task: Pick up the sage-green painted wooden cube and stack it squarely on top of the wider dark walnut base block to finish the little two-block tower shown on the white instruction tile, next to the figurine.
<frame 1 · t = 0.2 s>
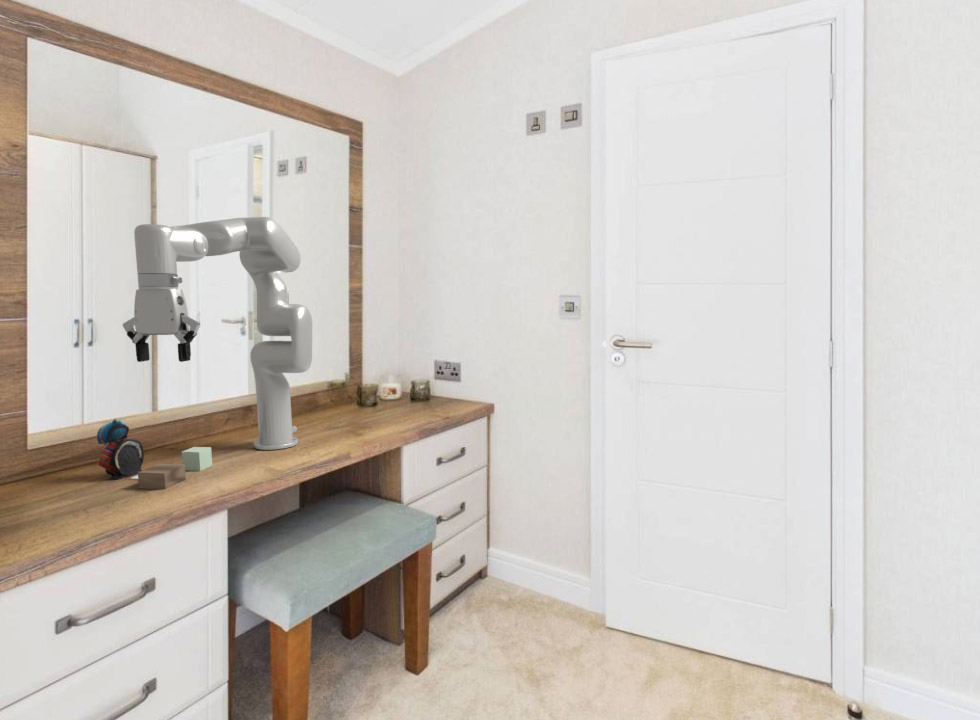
hand: (164, 361, 126), 31 cm above the table, fingers open, 9 cm apart
figurine: (121, 475, 146), on the table
instruction tile: (151, 474, 145), on the table
walnut base: (163, 484, 138), on the table
sage cube: (197, 468, 151), on the table
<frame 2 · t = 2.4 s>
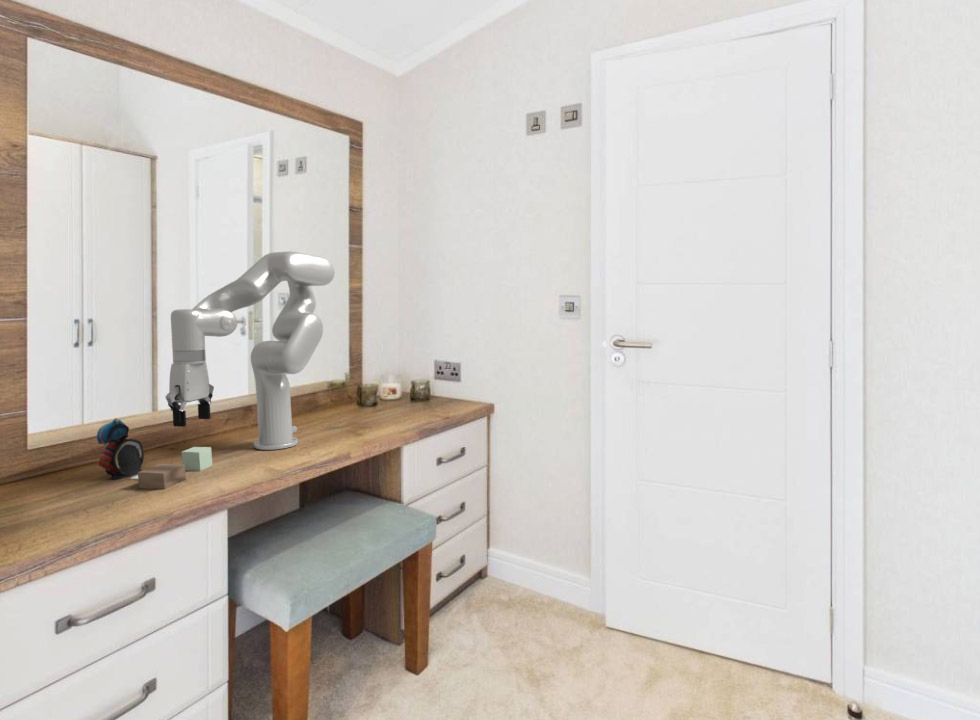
hand: (192, 422, 149), 12 cm above the table, fingers open, 9 cm apart
nothing on the table moved.
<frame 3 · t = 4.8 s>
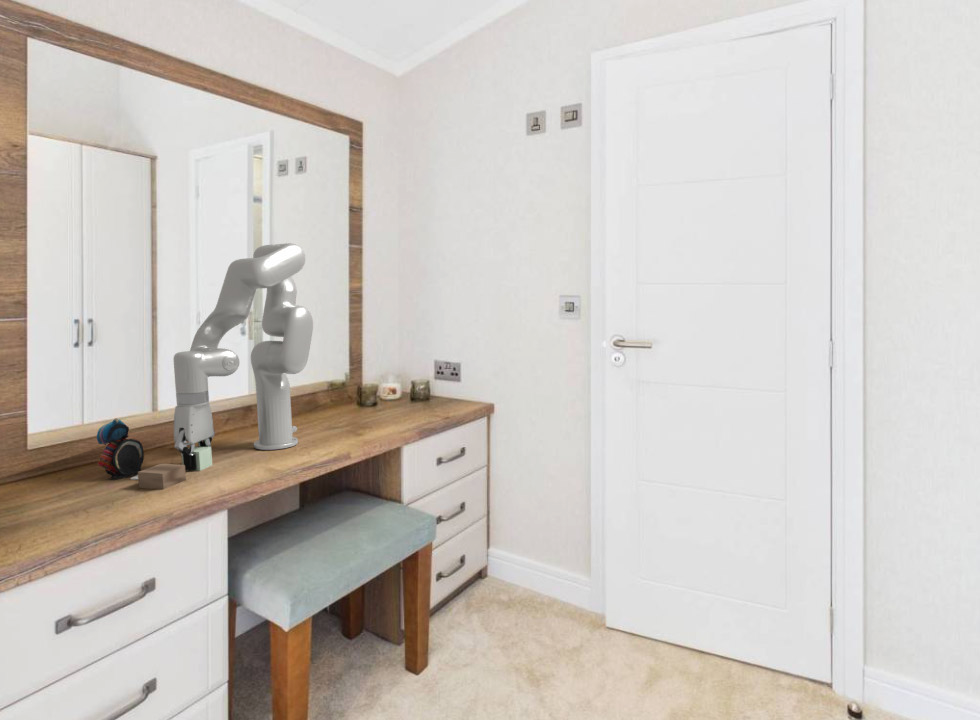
hand: (197, 465, 151), 0 cm above the table, fingers closed on sage cube, 5 cm apart
sage cube: (197, 467, 151), on the table, touching gripper
everything else where it was.
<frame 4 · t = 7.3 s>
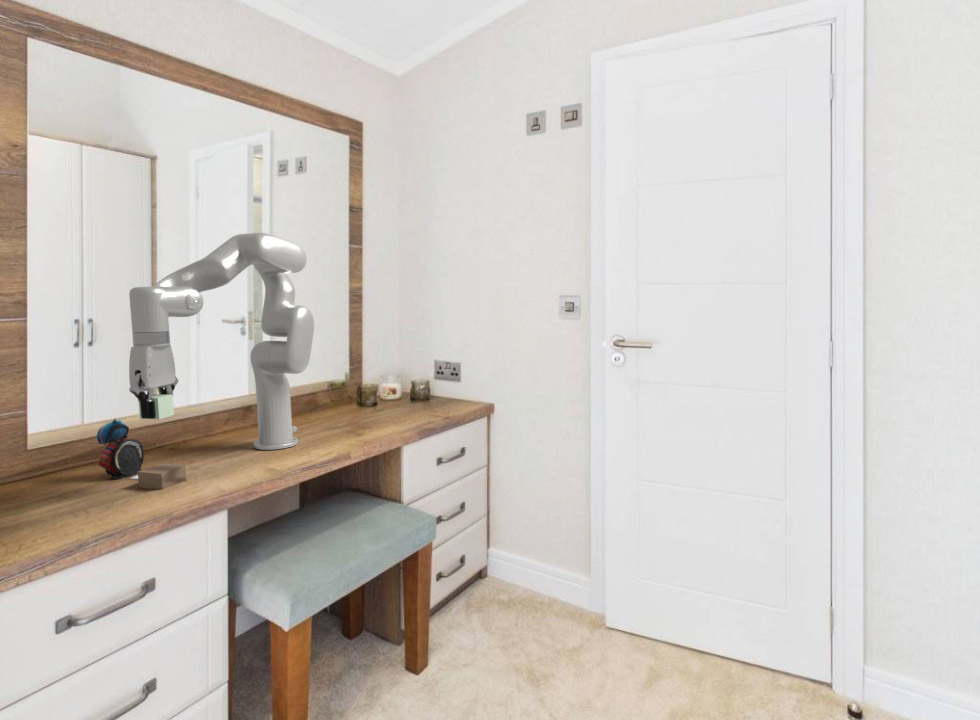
hand: (157, 414, 136), 17 cm above the table, fingers closed on sage cube, 5 cm apart
sage cube: (157, 416, 137), point 16 cm above the table, touching gripper
everything else where it was.
when the fingers open (5 cm above the table, at t = 10.2 s): sage cube stays where it is, point 4 cm above the table.
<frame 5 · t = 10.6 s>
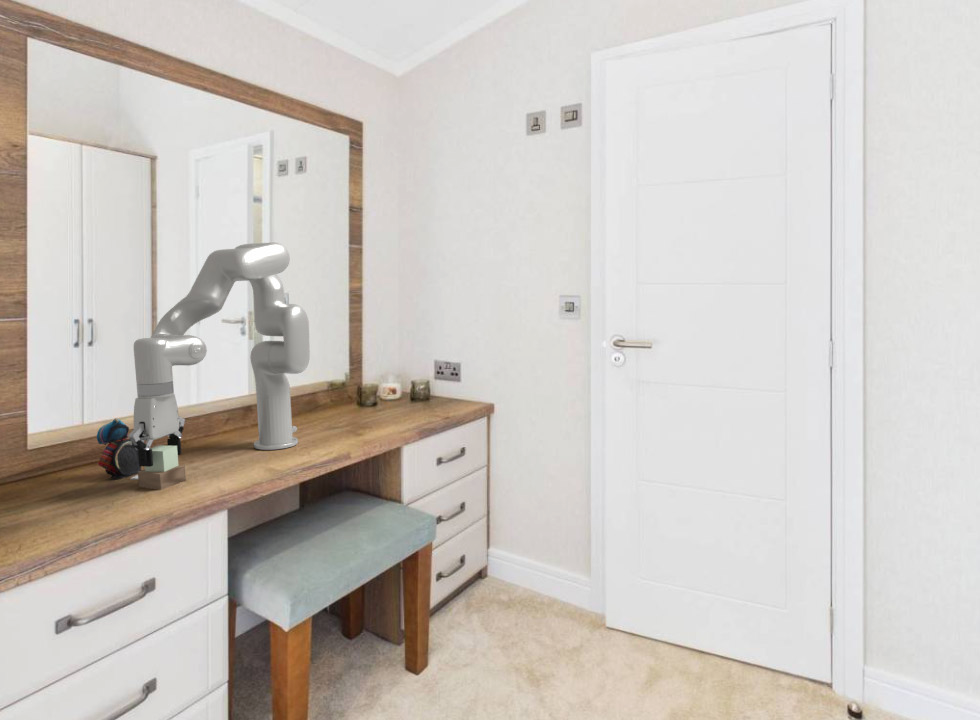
hand: (161, 460, 138), 6 cm above the table, fingers open, 9 cm apart
sage cube: (162, 468, 138), point 4 cm above the table
everything else where it was.
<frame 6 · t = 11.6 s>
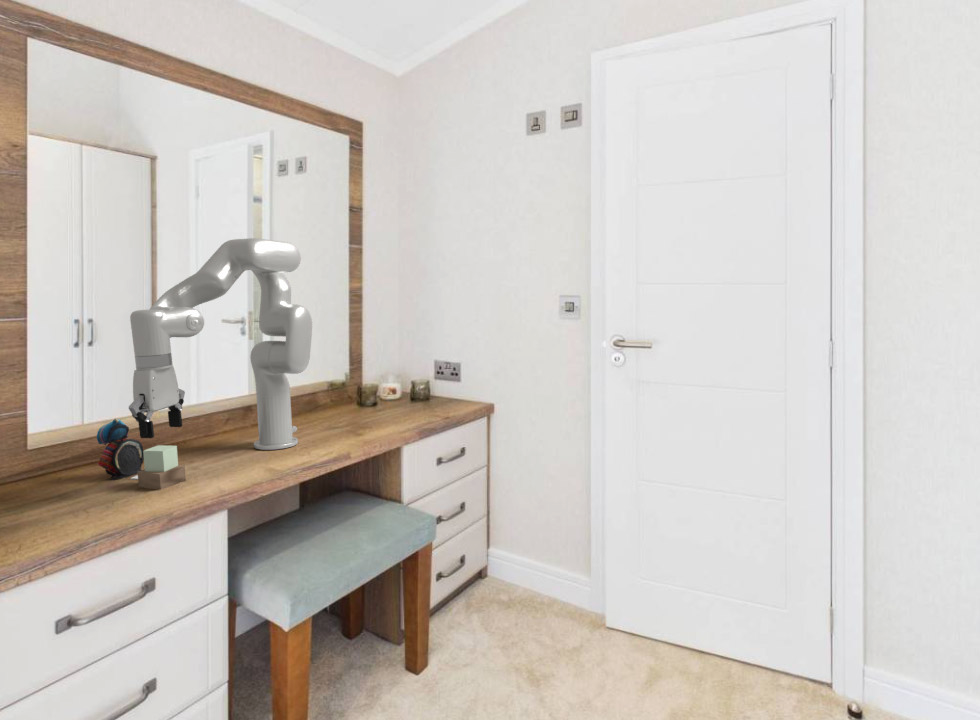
hand: (162, 432, 138), 12 cm above the table, fingers open, 9 cm apart
nothing on the table moved.
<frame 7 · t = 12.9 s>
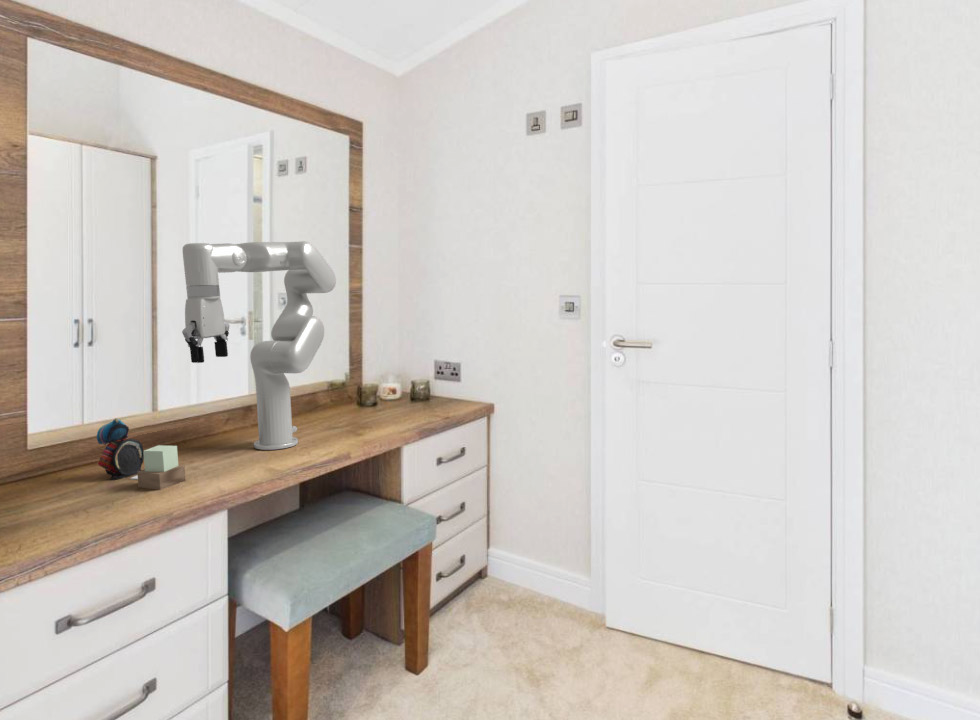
hand: (210, 359, 148), 29 cm above the table, fingers open, 9 cm apart
walnut base: (162, 484, 138), on the table, touching sage cube
sage cube: (162, 468, 138), point 4 cm above the table, touching walnut base
everything else where it was.
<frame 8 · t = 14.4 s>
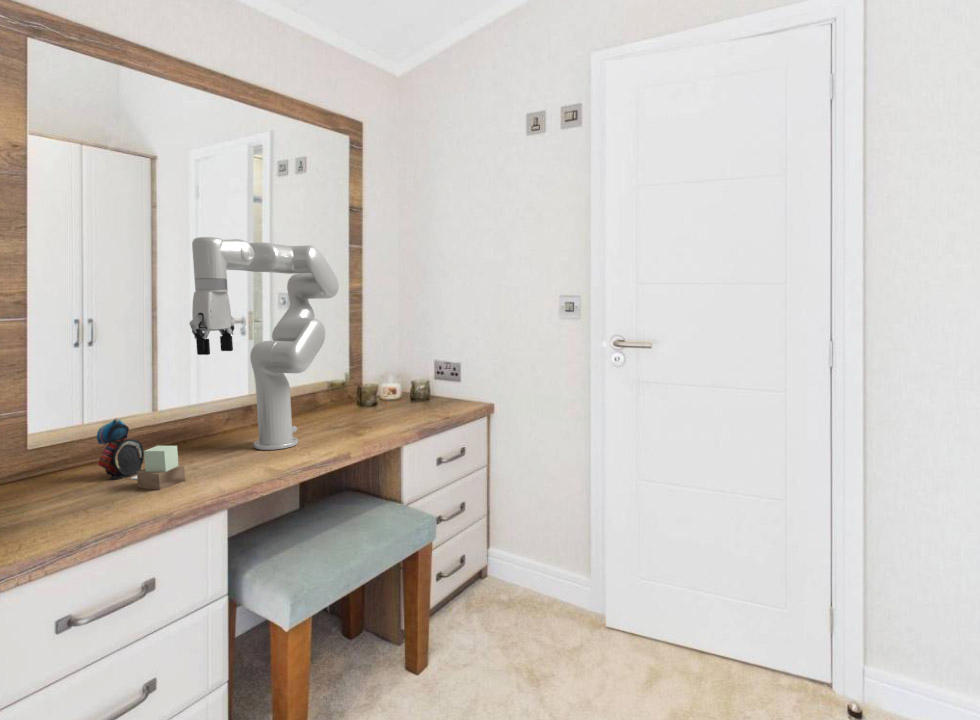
hand: (215, 352, 149), 30 cm above the table, fingers open, 9 cm apart
nothing on the table moved.
at the end: sage cube 0.4 cm off-centre on the walnut base, point 4.0 cm above the walnut base's base; sage cube tilted 0°; the gripper is holding nothing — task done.
